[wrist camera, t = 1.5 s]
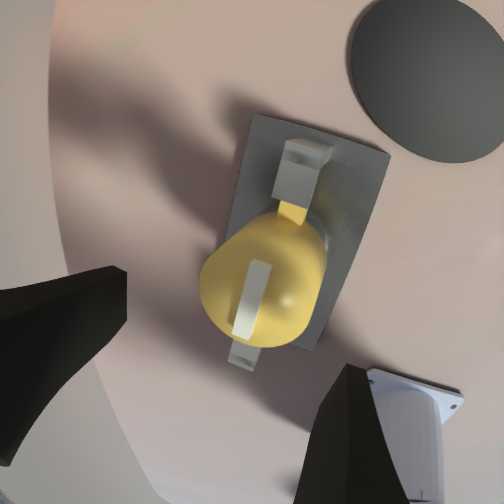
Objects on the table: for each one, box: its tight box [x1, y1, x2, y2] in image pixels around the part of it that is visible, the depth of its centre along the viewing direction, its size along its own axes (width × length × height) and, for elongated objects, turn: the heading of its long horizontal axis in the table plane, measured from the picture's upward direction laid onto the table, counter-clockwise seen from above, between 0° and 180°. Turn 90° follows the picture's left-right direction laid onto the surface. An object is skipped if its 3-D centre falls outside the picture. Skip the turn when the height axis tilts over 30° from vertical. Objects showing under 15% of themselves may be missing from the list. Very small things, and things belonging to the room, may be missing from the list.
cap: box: [199, 200, 327, 347], centre depth 13 cm, size 8×4×4 cm, turn 167°
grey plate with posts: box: [224, 113, 391, 372], centre depth 15 cm, size 12×7×5 cm, turn 167°
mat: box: [351, 0, 504, 163], centre depth 11 cm, size 9×9×1 cm
